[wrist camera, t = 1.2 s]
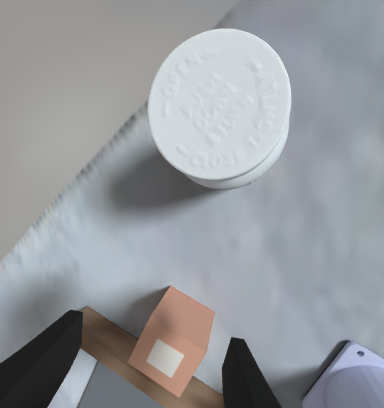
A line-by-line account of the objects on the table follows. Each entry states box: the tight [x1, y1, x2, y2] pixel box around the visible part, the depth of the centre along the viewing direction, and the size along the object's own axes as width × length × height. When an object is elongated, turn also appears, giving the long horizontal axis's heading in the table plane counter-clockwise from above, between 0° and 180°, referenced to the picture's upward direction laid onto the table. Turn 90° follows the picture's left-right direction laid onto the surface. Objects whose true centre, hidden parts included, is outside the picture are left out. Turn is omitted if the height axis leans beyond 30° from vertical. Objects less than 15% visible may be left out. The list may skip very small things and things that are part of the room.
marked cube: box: [128, 286, 215, 398], centre depth 19 cm, size 5×5×5 cm
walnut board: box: [80, 306, 225, 408], centre depth 21 cm, size 20×2×3 cm, turn 64°
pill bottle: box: [148, 29, 291, 190], centre depth 13 cm, size 6×6×11 cm
